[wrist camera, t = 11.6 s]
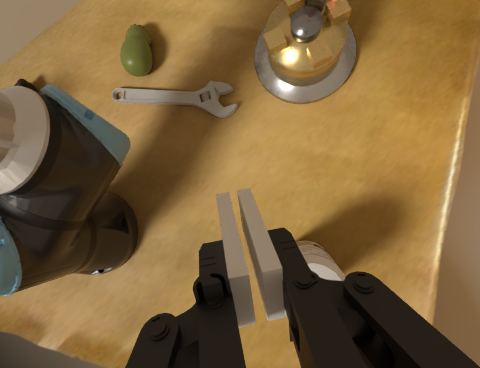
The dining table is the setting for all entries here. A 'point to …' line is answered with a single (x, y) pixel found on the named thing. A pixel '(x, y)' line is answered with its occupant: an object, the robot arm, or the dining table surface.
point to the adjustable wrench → (182, 98)
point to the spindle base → (306, 90)
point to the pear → (137, 51)
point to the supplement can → (320, 261)
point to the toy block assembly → (306, 54)
